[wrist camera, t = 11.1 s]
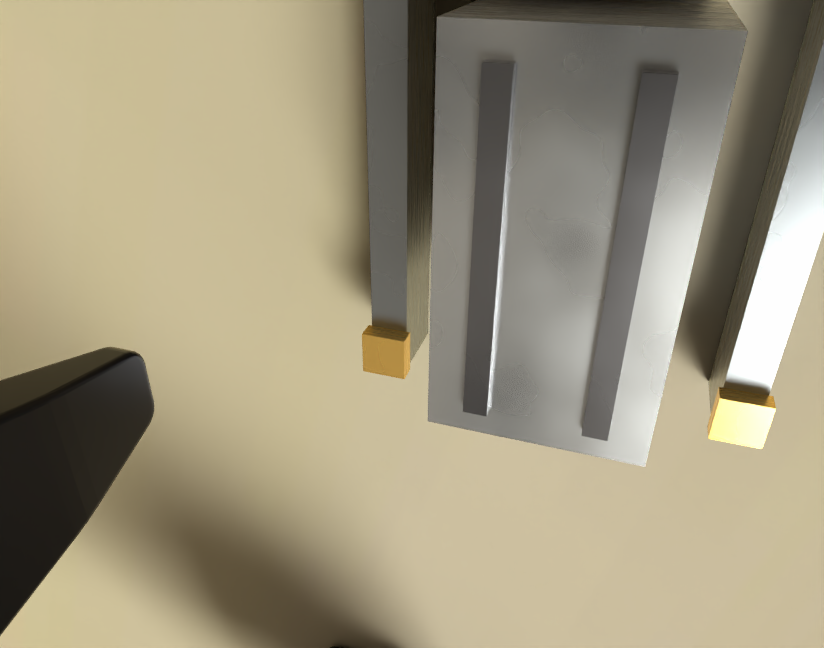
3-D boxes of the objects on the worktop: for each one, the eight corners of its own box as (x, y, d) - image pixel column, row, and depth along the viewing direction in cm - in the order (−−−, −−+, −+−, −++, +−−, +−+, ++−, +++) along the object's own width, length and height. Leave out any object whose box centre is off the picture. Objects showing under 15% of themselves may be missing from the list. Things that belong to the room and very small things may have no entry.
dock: (752, 390, 18) (764, 462, 16) (393, 327, 21) (356, 380, 19) (904, -89, 13) (958, -92, 10) (389, -91, 16) (336, -93, 13)
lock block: (652, 322, 19) (644, 473, 13) (489, 296, 20) (425, 426, 15) (722, -6, 14) (749, 32, 9) (511, -13, 16) (433, 18, 11)
